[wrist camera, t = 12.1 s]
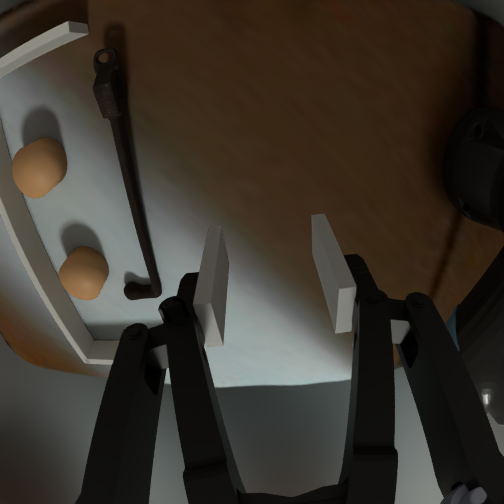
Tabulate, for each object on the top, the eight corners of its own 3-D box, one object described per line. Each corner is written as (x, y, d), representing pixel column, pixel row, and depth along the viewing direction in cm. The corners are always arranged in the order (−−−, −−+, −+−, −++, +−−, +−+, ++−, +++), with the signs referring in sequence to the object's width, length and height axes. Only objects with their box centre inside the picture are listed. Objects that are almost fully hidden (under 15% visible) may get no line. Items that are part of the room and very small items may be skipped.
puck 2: (110, 252, 36) (100, 269, 33) (108, 287, 39) (100, 305, 36) (69, 241, 35) (57, 256, 32) (70, 276, 38) (60, 292, 35)
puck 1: (63, 133, 27) (46, 141, 24) (72, 183, 30) (57, 196, 27) (24, 141, 27) (7, 150, 24) (34, 187, 30) (19, 200, 27)
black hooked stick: (130, 282, 41) (81, 56, 22) (165, 281, 41) (127, 44, 23) (123, 310, 37) (57, 60, 18) (161, 309, 37) (109, 45, 19)
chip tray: (87, 24, 21) (68, 20, 17) (176, 344, 45) (173, 365, 42) (-14, 78, 21) (-35, 83, 18) (91, 345, 46) (84, 363, 42)
